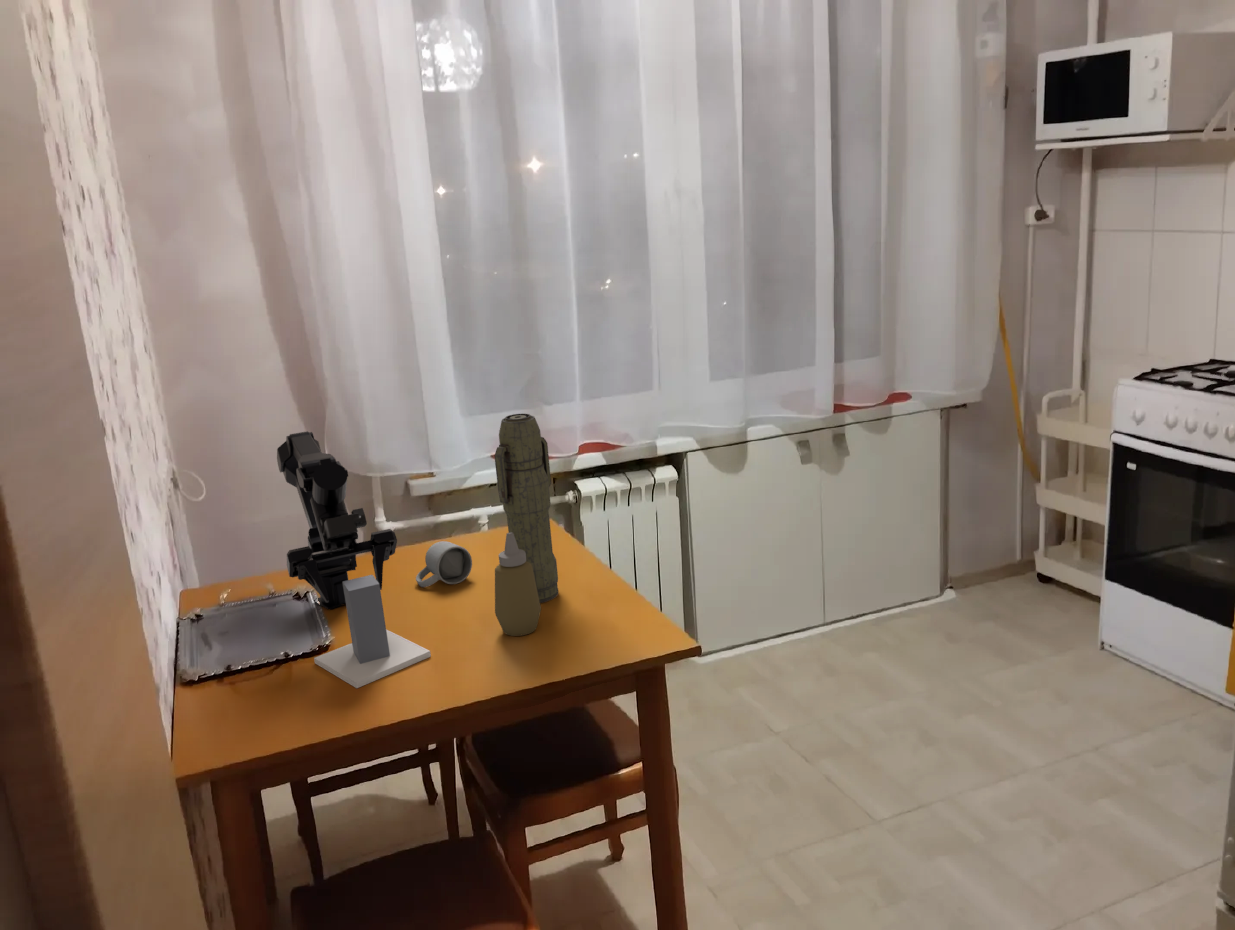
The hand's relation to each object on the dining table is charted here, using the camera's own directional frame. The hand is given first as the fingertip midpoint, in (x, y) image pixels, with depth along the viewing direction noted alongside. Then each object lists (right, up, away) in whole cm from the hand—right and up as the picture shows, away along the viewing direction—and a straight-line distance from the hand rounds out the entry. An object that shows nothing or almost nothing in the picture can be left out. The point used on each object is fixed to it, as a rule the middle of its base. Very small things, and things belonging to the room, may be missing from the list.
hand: (354, 595), depth 170 cm
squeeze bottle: (+28, -7, +3) cm, 29 cm away
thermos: (+30, -2, +18) cm, 35 cm away
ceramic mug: (+10, -1, +29) cm, 30 cm away
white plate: (+4, -10, -5) cm, 12 cm away
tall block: (+4, -9, -5) cm, 11 cm away
